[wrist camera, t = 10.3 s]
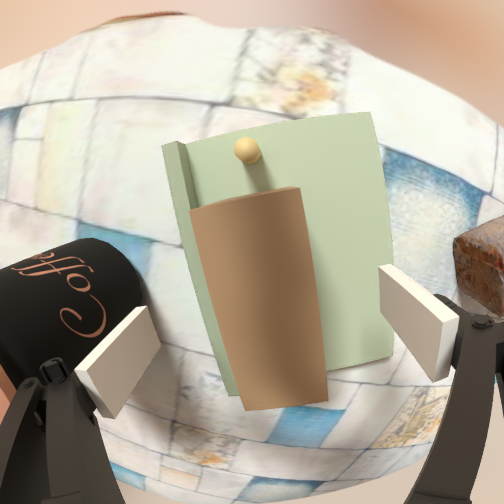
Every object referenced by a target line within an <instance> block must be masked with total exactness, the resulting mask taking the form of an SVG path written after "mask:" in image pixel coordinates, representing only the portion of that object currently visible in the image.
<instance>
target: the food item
mask: <svg viewBox="0 0 504 504" xmlns="http://www.w3.org/2000/svg"><path fill="white" fill-rule="evenodd" d="M454 257H455V261H456V271H457V281H458V285H459V288H460V289H461V290H462V292H464V293H465V294H467V295H469V296H471V297H472V298H473V299H475V300H476V301H477V302H479V303H481V304H482V305H483V306H484V307H486V308H487V309H488V310H490V311H491V312H492V313H495V314H496V315H497V316H498V317H499V318H501V317H502V316H504V215H503V216H501V217H498V218H496V219H493V220H491V221H488V222H486V223H484V224H482V225H480V226H478V227H476V228H474V229H472V230H469V231H467V232H465V233H463V234H461V235H459V236H458V237H457V238H454Z"/></svg>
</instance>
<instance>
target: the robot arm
mask: <svg viewBox="0 0 504 504" xmlns="http://www.w3.org/2000/svg"><path fill="white" fill-rule="evenodd" d="M378 270H379V289H380V312H381V314H382V315H383V316H384V318H385V319H386V320H387V321H388V323H389V324H390V325H391V327H392V328H393V329H394V330H395V332H396V333H397V334H398V336H399V337H400V338H401V340H402V341H403V342H404V344H405V345H406V346H407V348H408V349H409V350H410V352H411V353H412V355H413V356H414V357H415V359H416V360H417V361H418V363H419V364H420V366H421V367H422V368H423V370H424V371H425V373H426V374H427V375H428V377H429V378H430V380H431V381H432V383H434V382H436V381H439V380H441V379H443V378H446V377H448V375H449V371H450V367H451V365H452V366H453V367H454V369H455V370H456V371H455V375H454V379H453V383H452V386H451V390H450V395H449V398H448V401H447V405H446V408H445V411H444V414H443V417H442V420H441V423H440V426H439V429H438V432H437V434H436V437H435V440H434V442H433V445H432V447H431V449H430V452H429V454H428V457H427V459H426V461H425V463H424V465H423V468H422V470H421V472H420V474H419V476H418V478H417V480H416V482H415V484H414V486H413V488H412V490H411V491H410V493H409V495H408V497H407V499H406V500H405V502H404V504H472V501H471V500H470V494H471V490H472V488H473V485H474V482H475V479H476V476H477V473H478V469H479V466H480V462H481V459H482V455H483V451H484V447H485V442H486V438H487V433H488V428H489V422H490V416H491V410H492V402H493V393H494V383H495V374H496V379H497V383H498V388H499V392H500V397H501V403H502V409H503V416H504V322H501V323H496V324H495V322H494V320H492V319H491V318H490V317H487V316H483V315H475V316H470V315H469V314H468V313H467V312H465V311H464V310H463V309H461V308H460V307H459V306H457V305H456V304H455V303H454V302H452V301H451V300H450V299H448V298H447V297H445V296H442V295H439V294H434V295H432V294H431V293H429V292H428V291H427V290H426V289H424V288H423V287H422V286H420V285H419V284H418V283H416V282H415V281H414V280H412V279H411V278H410V277H408V276H407V275H406V274H404V273H403V272H401V271H400V270H399V269H397V268H396V267H395V266H393V265H392V264H387V265H383V266H378ZM160 347H161V343H160V340H159V338H158V335H157V333H156V330H155V327H154V324H153V322H152V319H151V316H150V313H149V310H148V307H147V306H141V307H136V308H135V309H134V310H133V311H132V312H131V313H130V314H129V315H128V316H127V317H126V318H125V319H124V320H123V321H121V322H120V323H119V324H118V325H117V326H116V327H115V328H114V329H113V330H112V331H111V332H110V333H109V334H108V335H107V336H106V337H105V338H104V339H103V340H102V341H101V342H100V343H99V344H98V345H97V346H96V347H95V349H94V350H93V351H92V352H91V353H90V354H89V355H88V356H87V357H86V358H85V359H84V360H83V361H82V362H81V363H80V364H79V365H78V366H77V367H76V368H75V369H74V371H73V372H72V373H71V374H69V372H68V370H67V368H66V366H65V364H64V362H63V360H62V359H61V358H53V359H50V360H48V361H46V362H45V363H43V364H42V365H41V367H40V369H39V370H40V371H41V373H42V375H43V377H44V378H45V380H46V382H47V384H48V385H45V386H42V385H41V383H40V381H39V380H38V378H36V377H32V378H27V379H25V380H24V381H23V382H22V383H21V384H20V386H19V388H18V389H17V391H16V393H15V395H14V397H13V399H12V401H11V403H10V405H9V407H8V409H7V411H6V413H5V416H4V418H3V420H2V422H1V424H0V504H126V503H125V501H124V499H123V496H122V494H121V492H120V489H119V487H118V484H117V482H116V479H115V476H114V474H113V471H112V468H111V465H110V462H109V459H108V456H107V453H106V450H105V446H104V443H103V440H102V436H101V433H100V429H99V425H98V421H97V418H96V416H95V415H94V413H93V412H94V411H95V409H96V408H97V409H98V411H99V412H100V414H101V415H102V417H105V418H111V419H116V417H117V415H118V414H119V412H120V410H121V409H122V407H123V406H124V404H125V402H126V401H127V399H128V398H129V396H130V394H131V393H132V391H133V390H134V388H135V386H136V385H137V383H138V382H139V380H140V379H141V377H142V375H143V374H144V372H145V371H146V369H147V368H148V366H149V364H150V363H151V361H152V360H153V358H154V357H155V355H156V354H157V352H158V350H159V349H160ZM34 413H35V415H36V416H37V418H38V419H39V421H40V424H38V423H37V422H36V420H35V416H34Z"/></svg>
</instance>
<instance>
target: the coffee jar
mask: <svg viewBox="0 0 504 504" xmlns="http://www.w3.org/2000/svg"><path fill="white" fill-rule="evenodd" d="M141 302H142V296H141V291H140V285H139V280H138V278H137V276H136V273H135V271H134V269H133V267H132V265H131V264H130V263H129V261H128V260H127V259H126V258H125V256H124V255H123V254H122V253H121V252H120V251H119V250H117V249H116V248H115V247H113V246H112V245H111V244H109V243H107V242H104V241H101V240H98V239H95V238H84V239H79V240H76V241H73V242H70V243H67V244H64V245H62V246H59V247H56V248H53V249H51V250H48V251H45V252H43V253H40V254H38V255H35V256H32V257H30V258H27V259H25V260H22V261H20V262H17V263H15V264H12V265H10V266H8V267H5V268H3V269H1V270H0V424H1V422H2V420H3V418H4V416H5V413H6V411H7V409H8V407H9V405H10V403H11V401H12V399H13V397H14V395H15V393H16V391H17V389H18V388H19V386H20V384H21V383H22V382H23V381H24V380H25V379H27V378H32V377H36V378H38V380H39V381H40V383H41V385H42V386H45V385H48V384H47V382H46V380H45V378H44V377H43V375H42V373H41V371H40V370H39V369H40V367H41V365H42V364H43V363H45V362H46V361H48V360H50V359H53V358H61V359H62V360H63V362H64V364H65V366H66V368H67V370H68V372H69V374H71V373H72V372H73V371H74V369H75V368H76V367H77V366H78V365H79V364H80V363H81V362H82V361H83V360H84V359H85V358H86V357H87V356H88V355H89V354H90V353H91V352H92V351H93V350H94V349H95V347H96V346H97V345H98V344H99V343H100V342H101V341H102V340H103V339H104V338H105V337H106V336H107V335H108V334H109V333H110V332H111V331H112V330H113V329H114V328H115V327H116V326H117V325H118V324H119V323H120V322H121V321H123V320H124V319H125V318H126V317H127V316H128V315H129V314H130V313H131V312H132V311H133V310H134V309H135V308H136V307H141ZM34 416H35V420H36V422H37V423H38V424H40V421H39V419H38V418H37V416H36V415H35V413H34Z"/></svg>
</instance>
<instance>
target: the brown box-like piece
mask: <svg viewBox="0 0 504 504" xmlns="http://www.w3.org/2000/svg"><path fill="white" fill-rule="evenodd" d="M189 214H190V219H191V223H192V227H193V231H194V236H195V240H196V244H197V248H198V252H199V256H200V260H201V264H202V268H203V272H204V276H205V279H206V283H207V287H208V291H209V294H210V298H211V302H212V305H213V309H214V312H215V316H216V319H217V323H218V326H219V330H220V333H221V337H222V340H223V343H224V347H225V350H226V353H227V356H228V360H229V363H230V366H231V369H232V372H233V376H234V379H235V382H236V385H237V388H238V391H239V394H240V397H241V400H242V403H243V406H244V409H245V411H252V410H264V409H274V408H283V407H291V406H299V405H306V404H312V403H318V402H324V401H328V391H327V378H326V366H325V356H324V346H323V336H322V327H321V318H320V310H319V302H318V294H317V287H316V280H315V273H314V266H313V259H312V253H311V247H310V241H309V234H308V229H307V223H306V217H305V212H304V206H303V201H302V195H301V190H300V188H299V187H284V188H279V189H274V190H268V191H263V192H258V193H253V194H248V195H243V196H239V197H234V198H229V199H225V200H221V201H218V202H215V203H211V204H208V205H205V206H202V207H198V208H195V209H192V210H189Z"/></svg>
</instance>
